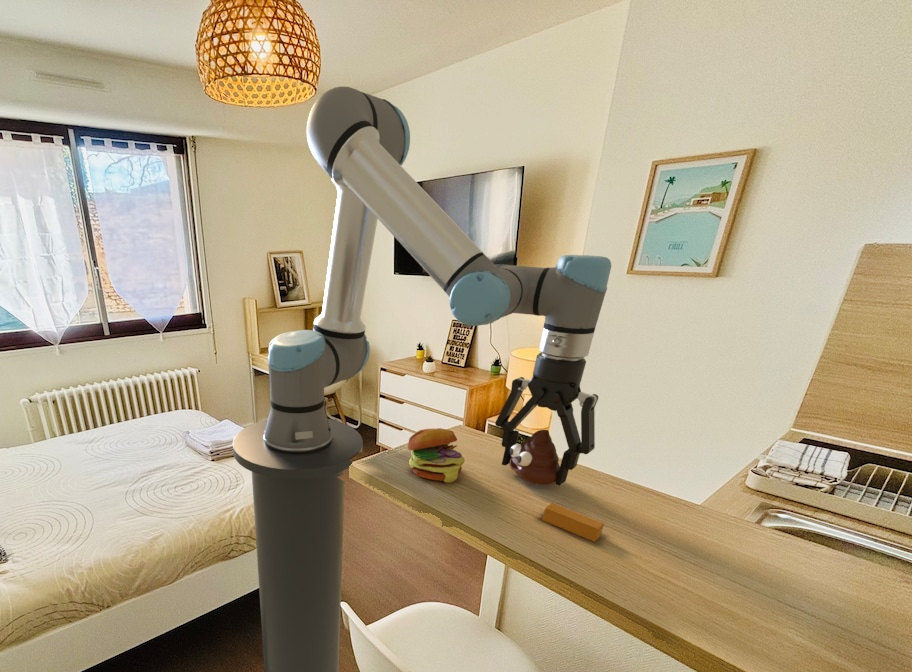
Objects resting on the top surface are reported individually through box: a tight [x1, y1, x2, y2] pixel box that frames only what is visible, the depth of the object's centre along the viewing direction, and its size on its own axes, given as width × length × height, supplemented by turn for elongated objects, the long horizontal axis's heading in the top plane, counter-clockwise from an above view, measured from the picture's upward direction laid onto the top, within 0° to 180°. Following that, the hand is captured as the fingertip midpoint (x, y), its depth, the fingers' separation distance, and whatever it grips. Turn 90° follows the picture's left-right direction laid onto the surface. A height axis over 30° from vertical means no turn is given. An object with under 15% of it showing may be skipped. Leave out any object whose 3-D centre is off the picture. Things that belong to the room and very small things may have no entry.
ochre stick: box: [541, 502, 605, 542], centre depth 74 cm, size 8×2×2 cm, turn 42°
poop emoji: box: [508, 429, 560, 486], centre depth 86 cm, size 10×8×9 cm
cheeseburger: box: [407, 427, 465, 484], centre depth 90 cm, size 10×11×10 cm
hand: (532, 472), depth 88 cm, fingers closed on poop emoji, 9 cm apart
